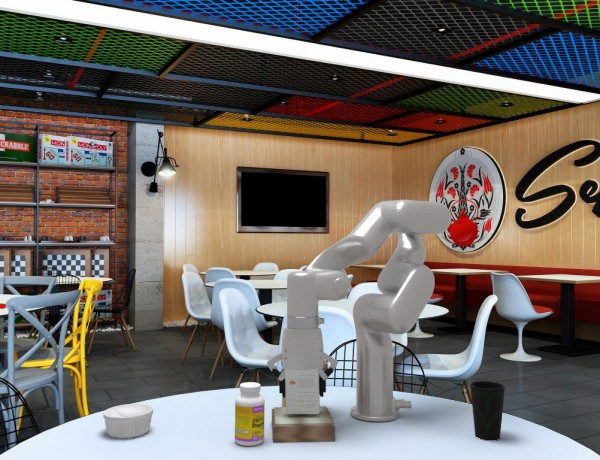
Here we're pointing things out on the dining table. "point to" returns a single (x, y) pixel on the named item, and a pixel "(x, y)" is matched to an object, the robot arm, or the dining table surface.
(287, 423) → the stand
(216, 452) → the dining table surface
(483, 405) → the cup
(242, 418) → the supplement bottle
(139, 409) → the ramekin
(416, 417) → the dining table surface
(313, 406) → the small box
